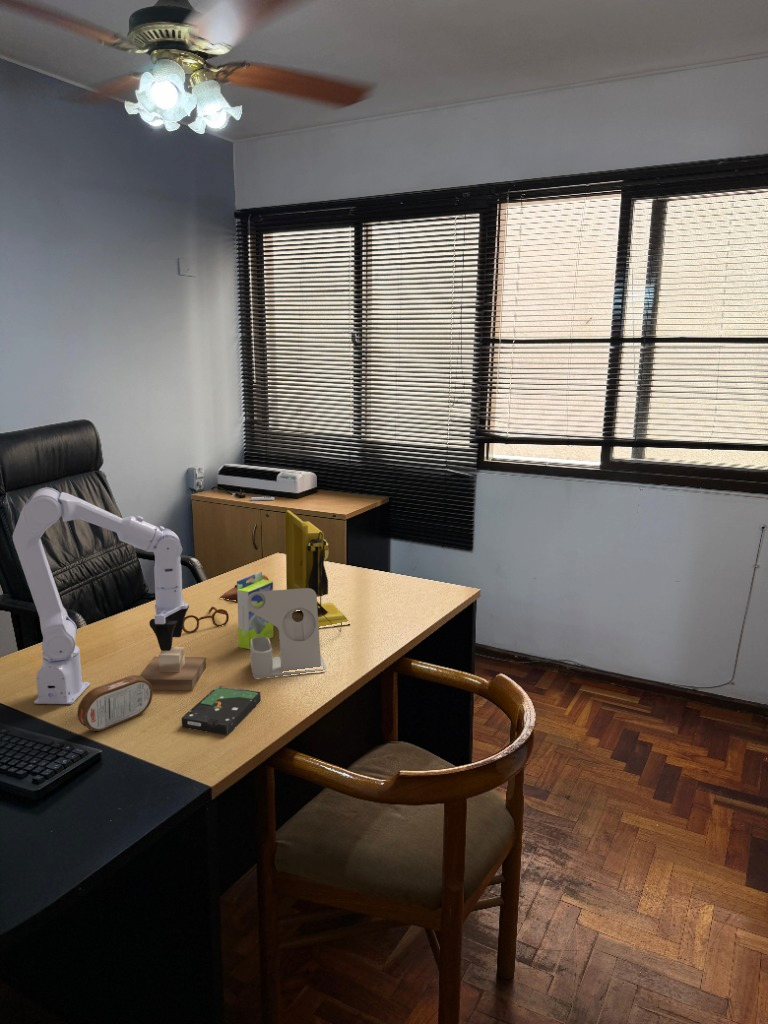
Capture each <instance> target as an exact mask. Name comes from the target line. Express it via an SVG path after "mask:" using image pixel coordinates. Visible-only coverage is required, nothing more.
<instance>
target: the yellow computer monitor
mask: <svg viewBox="0 0 768 1024" xmlns="http://www.w3.org/2000/svg"><path fill="white" fill-rule="evenodd" d="M324 535H325V533H324V532H323V531H322V530H320V529H319V528H318V527H317V526H315V525H314V524H313V523H311V521H303V520H302V519H301V518H299V517H298V516H297V515H296V514H295V513H293V512H292V511H291V510H290V509H289V510H288V509H287V510H285V564H286V566H285V567H286V569H285V570H286V572H285V574H286V575H285V576H286V580H285V581H286V590H287V589H302V588H310V589H313V590H314V591H315V593H316V595H317V598H319V600H317V610H318V625H319V627H320V626H326V625H332V624H337V623H341V626H340V627H343V626H342V622H347V621H349V619H348V618H347V616H345V614H343V613H342V611H341V610H340V609H338V607H337V606H336V605H335V604H334V603H333V602H327V603H326V602H325V603H322V597H323V596H327V595H329V579H328V576H327V571H326V568H325V563H324V562H325V561H326V560H328V558H329V554H330V553H329V543H328V542H327V540H326V539H325V537H324ZM303 618H304V614H303V613H302V619H303ZM339 632H340V633H341V632H342V628H340V630H339Z"/></svg>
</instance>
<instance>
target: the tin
mask: <svg viewBox="0 0 768 1024" xmlns="http://www.w3.org/2000/svg"><path fill="white" fill-rule="evenodd" d="M153 691H154V690H152V686H151V684H150V683H149V682H148V681H147V680H145V679H144V678H143V677H141V676H140V674H139V675H137V674H132V675H129V676H126V677H123V678H121V679H117V680H115V681H114V680H113V681H111V682H108V683H105V684H103V685H99V686H95V687H94V688H92V689H91V690H89V691H88V692H87V693H86V694H85V695H84V696H83V697H82V699H81V700H80V701H79V704H78V707H77V712H76V715H77V719H78V721H79V723H80V724H81V725H82V726H83V727H85V728H87V729H88V730H90V731H95V732H101V731H104V730H107V729H110V728H112V727H114V726H117V725H120V724H122V723H124V722H127V721H129V720H132V719H134V718H136V717H139V716H140V715H142V714H144V712H145V711H146V710H147V709H148V708H149V706H150V705H151V702H152V700H153V699H152V698H153V693H154V692H153Z"/></svg>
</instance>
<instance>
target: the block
mask: <svg viewBox="0 0 768 1024" xmlns="http://www.w3.org/2000/svg"><path fill="white" fill-rule="evenodd" d="M158 657H159V671H160V672H180V671H181V669H182V668H183V666H184V664H185V657H186V655H185V647H184V646H182V647H181V646H180V647H179V646H176V647H175V646H172V647H171V650H170V651H161V650H160V653H159V654H158Z"/></svg>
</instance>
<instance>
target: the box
mask: <svg viewBox="0 0 768 1024" xmlns="http://www.w3.org/2000/svg"><path fill="white" fill-rule="evenodd" d="M262 575H263V571H260V572H257V573H254V574H252V575H249V576H247V577H244V578H242V579H239V580H237V581H236V585H237V596H238V602H237V618H238V619H237V620H238V621H237V622H238V623H237V625H238V648H242V649H246V650H250V641H251V639H253V638H255V637H267V638H270V639H271V638H273V637H274V625H272V624H271V623H269V622H267V621H266V620H264V619H262V618H261V617H259V616H257V615H256V614H254V613H252V612H251V611H249V609H248V607H247V599H248V597H249V595H250V594H251V593H253V592H260V591H273V590H274V581H273V580H264V579H262ZM250 578H251V579H252V578H253V581H251V582H248V583H246V581H247V580H249V579H250ZM251 603H252V605H253V606H254V607H259V606H261V605H262V603H263V598H262V597H261V596H260V595H255V596H253V597H252V599H251Z"/></svg>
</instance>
